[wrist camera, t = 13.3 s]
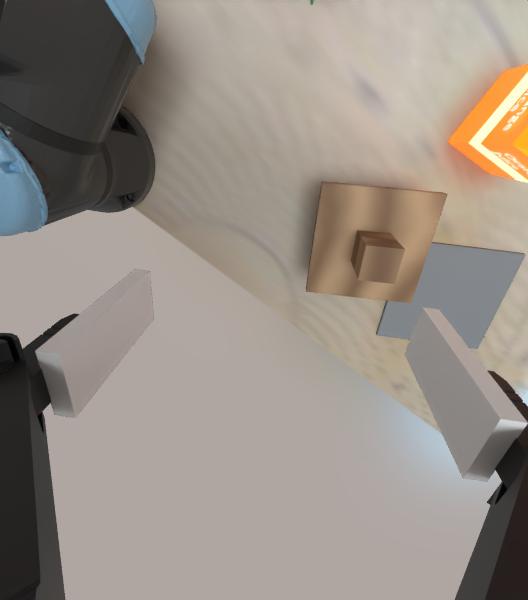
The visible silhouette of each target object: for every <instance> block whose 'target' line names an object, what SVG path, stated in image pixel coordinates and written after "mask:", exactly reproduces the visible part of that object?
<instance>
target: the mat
mask: <svg viewBox="0 0 528 600" xmlns="http://www.w3.org/2000/svg"><path fill="white" fill-rule="evenodd" d="M524 257H525V254H523V253H516V252H508V251H500V250H492V249H484V248H476V247H468V246H460V245H452V244H443V243H435V242H431V245H430V248H429V251H428V255H427V258H426V261H425V264H424V267H423V270H422V273H421V276H420V279H419V282H418V285H417V288H416V291H415V294H414V297H413V300H412V303H404V302H395V301H386V304H385V307H384V311H383V314H382V317H381V320H380V323H379V326H378V329H377V333H376V334H377V335H379V336H387V337H394V338H401V339H408V340H410V339H411V336H412V333H413V331H414V328H415V326H416V323H417V320H418V318H419V315H420V312H421V310H422V307H425V308H432V309H439V310H440V311H441V312H442V314H443V315H444V316H445V318H446V319H447V320H448V321H449V323H450V324H451V325H452V327H453V328H454V329H455V330H456V332H457V333H458V334H459V335H460V337H461V338H462V339H463V341H464V342H465V343H466V344H467V346H468V347H469V348H474V349H478V347H479V345H480V343H481V341H482V339H483V337H484V335H485V333H486V331H487V329H488V327H489V325H490V324H491V322H492V320H493V318H494V316H495V314H496V312H497V310H498V308H499V306H500V304H501V302H502V300H503V298H504V296H505V294H506V292H507V290H508V288H509V286H510V284H511V283H512V281H513V279H514V277H515V275H516V273H517V271H518V269H519V267H520V265H521V263H522V261H523V259H524Z"/></svg>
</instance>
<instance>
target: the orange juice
mask: <svg viewBox="0 0 528 600" xmlns="http://www.w3.org/2000/svg"><path fill="white" fill-rule="evenodd" d="M448 142H449V143H450V144H451V145H452V146H454V147H455V148H456V149H458V150H459V151H460V152H462V153H463V154H464V155H466V156H467V157H468V158H470V159H471V160H472V161H474V162H475V163H476V164H477V165H479V166H480V167H481V168H483V169H484V170H485V171H487V172H488V173H489V174H492V175H497V176H502V177H506V178H511V179H516V180H518V181H522V182H527V183H528V64H526V65H523V66H520V67H516V68H513V69H510V70H507V71H504V72H503V73H502V74H501V76H500V77H499V78H498V79H497V81H496V82H495V83H494V84H493V86H492V87H491V88H490V89H489V91H488V92H487V93H486V94H485V96H484V97H483V98H482V99H481V101H480V102H479V103H478V104H477V106H476V107H475V108H474V109H473V111H472V112H471V113H470V114H469V116H468V117H467V118H466V119H465V121H464V122H463V123H462V124H461V126H460V127H459V128H458V129H457V130H456V132H455V133H454V134H453V135H452V137H451V138H450V139H449V140H448Z"/></svg>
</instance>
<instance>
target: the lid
mask: <svg viewBox="0 0 528 600" xmlns="http://www.w3.org/2000/svg"><path fill="white" fill-rule="evenodd" d="M446 197H447V194H446V193H443V192H432V191H421V190H410V189H399V188H388V187H377V186H366V185H355V184H344V183H333V182H322V185H321V191H320V198H319V205H318V211H317V218H316V225H315V231H314V238H313V244H312V251H311V258H310V264H309V271H308V278H307V284H306V292H314V293H323V294H332V295H341V296H350V297H359V298H368V299H377V300H386V301H395V302H404V303H412V300H413V297H414V294H415V291H416V288H417V285H418V282H419V279H420V276H421V273H422V270H423V267H424V264H425V261H426V258H427V255H428V251H429V248H430V245H431V242H432V239H433V236H434V233H435V230H436V227H437V224H438V221H439V218H440V215H441V212H442V209H443V206H444V203H445V200H446Z"/></svg>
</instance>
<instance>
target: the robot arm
mask: <svg viewBox="0 0 528 600" xmlns="http://www.w3.org/2000/svg"><path fill="white" fill-rule="evenodd" d="M156 20H157V17H156V11H155V6H154V3H153V1H152V0H0V236H10V235H15V234H18V233H23V232H32V231H36V230H38V229H39V228H41V226H44V225H47V224H49V223H52V222H55V221H58V220H60V219H63V218H66V217H69V216H72V215H74V214H77V213H80V212H82V211H85V210H93V211H99V212H107V213H108V212H109V213H111V212H119V211H123V210H126V209H128V208H130V207H132V206H134V205H136V204H138V203H139V202H140V201H142V200H143V199H144V197H145V196H146V195H147V193H148V192H149V190H150V188H151V186H152V183H153V179H154V174H155V159H154V153H153V149H152V146H151V143H150V140H149V138H148V136H147V134H146V132H145V130H144V129H143V127H142V126H141V124H140V123H139V121H138V120H137V119H136V118H135V117H134V116H133V115H132V114H131V113H130V112H129V111H128V110H127V109H126V108H124V107H123V106H121V105H122V103H123V100H124V98H125V96H126V94H127V92H128V89H129V87H130V85H131V83H132V81H133V78H134V76H135V74H136V72H137V70H138V67H139V65H141V66H142V65H143V64H144V61H145V56H144V55H145V52H146V50H147V47H148V45H149V42H150V40H151V37H152V35H153V32H154V30H155V27H156ZM153 319H154V315H153V302H152V289H151V277H150V271H145V270H138V269H135V270H133V271H132V272H131V273H130V274H128V275H127V276H126V277H125V278H123V279H122V280H121V281H120V282H119V283H117V284H116V285H115V286H114V287H112V288H111V289H110V290H109V291H108V292H106V294H104V295H103V296H101V297H100V298H99V299H98V300H97V301H95V302H94V303H93V304H92V305H91V306H90V307H88V308H87V309H86V310H84V311H83V312H82V313H81V314H72V315H70V316H67V317H65V318H63V319H61V320H59V321H58V322H57V323H55V324H54V325H53V326H52V327H51V328H49V329H48V330H47V331H45V332H44V333H43V335H40V336H39V337H38V338H36V339H35V340H34V341H32V342H31V343H30V344H28V345H27V346H26V347H25V348H23V349H22V347H21V344H20V341H19V338H18V337H17V336H16V335H14V334H11V333H0V600H65V593H64V584H63V576H62V566H61V558H60V550H59V540H58V532H57V523H56V515H55V505H54V496H53V489H52V479H51V470H50V462H49V453H48V445H47V435H46V426H45V418H44V415H43V412H42V411H43V410H44V409H45V408H46V407H47V406H48V405H49V404H50V403H51V405H52V408H53V412H54V415H59V416H65V417H72V418H76V417H77V416H78V415H79V413H80V412H81V411H82V409H83V408H84V407H85V406H86V404H87V403H88V402H89V401H90V399H91V398H92V397H93V396H94V394H95V393H96V392H97V390H98V389H99V388H100V387H101V385H102V384H103V383H104V381H105V380H106V379H107V378H108V377H109V375H110V374H111V373H112V371H113V370H114V369H115V368H116V366H117V365H118V364H119V363H120V361H121V360H122V359H123V358H124V356H125V355H126V354H127V352H128V351H129V350H130V349H131V347H132V346H133V345H134V344H135V342H136V341H137V340H138V339H139V337H140V336H141V335H142V333H143V332H144V331H145V330H146V328H147V327H148V326H149V325H150V323H151V322H152V321H153ZM405 356H406V358H407V360H408V362H409V364H410V367H411V369H412V371H413V373H414V375H415V377H416V379H417V381H418V384H419V386H420V388H421V390H422V392H423V394H424V396H425V398H426V401H427V403H428V405H429V407H430V409H431V411H432V413H433V415H434V418H435V420H436V422H437V424H438V426H439V428H440V430H441V432H442V435H443V437H444V439H445V441H446V443H447V445H448V447H449V449H450V451H451V454H452V456H453V458H454V460H455V462H456V464H457V466H458V469H459V471H460V473H461V475H462V477H463V478H465V479H472V480H478V481H484V482H487V481H488V480H489V478H490V477H491V475H492V474H493V473H494V471H495V470H496V471H497V473H498V475H499V477H500V478H501V480H502V482H501V484H500V485H499V487H498V488H497V489H496V491H495V492H494V494H493V495H492V496H491V498H490V499H489V500H488V501H487V503H489V504H490V505H491V506H490V508H489V511H488V514H487V516H486V519H485V522H484V524H483V527H482V529H481V532H480V535H479V537H478V540H477V543H476V545H475V548H474V551H473V553H472V556H471V558H470V561H469V563H468V566H467V569H466V572H465V574H464V577H463V579H462V582H461V584H460V587H459V590H458V592H457V595H456V598H455V600H528V407H527V405H526V404H525V403H523V400H522V399H521V398H520V397H519V396H518V394H515V391H514V390H513V388H512V387H511V386H510V385H509V384H508V382H507V381H506V380H504V379H503V378H502V377H500V376H499V375H498V374H496V373H495V372H494V371H487V370H486V369H485V367H484V366H483V365H482V363H481V362H480V361H479V360H478V358H477V357H476V356H475V355H474V353H473V352H472V351H471V349H470V348H469V347H468V346H467V344H466V343H465V342H464V341H463V339H462V338H461V337H460V335H459V334H458V333H457V332H456V330H455V329H454V328H453V327H452V325H451V324H450V323H449V321H448V320H447V319H446V318H445V316H444V315H443V314H442V312H441V311H440V310H439V309H432V308H425V307H422V310H421V312H420V315H419V318H418V320H417V323H416V326H415V328H414V331H413V333H412V336H411V339H410V341H409V344H408V346H407V349H406V352H405Z"/></svg>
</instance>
